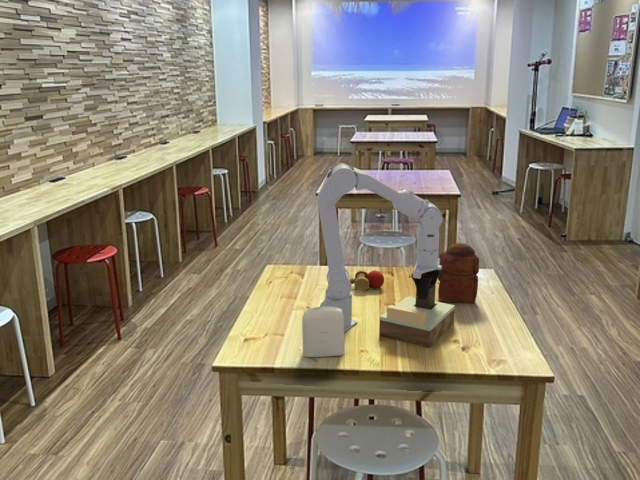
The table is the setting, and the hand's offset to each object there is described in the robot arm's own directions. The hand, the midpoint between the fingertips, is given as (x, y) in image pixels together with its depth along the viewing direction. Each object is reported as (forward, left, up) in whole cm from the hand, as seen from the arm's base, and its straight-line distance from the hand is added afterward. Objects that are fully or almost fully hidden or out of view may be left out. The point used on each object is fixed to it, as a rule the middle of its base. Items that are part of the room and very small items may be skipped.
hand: (425, 296), depth 168 cm
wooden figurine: (+23, -1, -8) cm, 24 cm away
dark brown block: (0, 0, -3) cm, 3 cm away
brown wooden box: (-5, 0, -8) cm, 10 cm away
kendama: (+17, +30, -9) cm, 36 cm away
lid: (-5, 0, -3) cm, 6 cm away
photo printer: (-31, +14, -8) cm, 35 cm away
